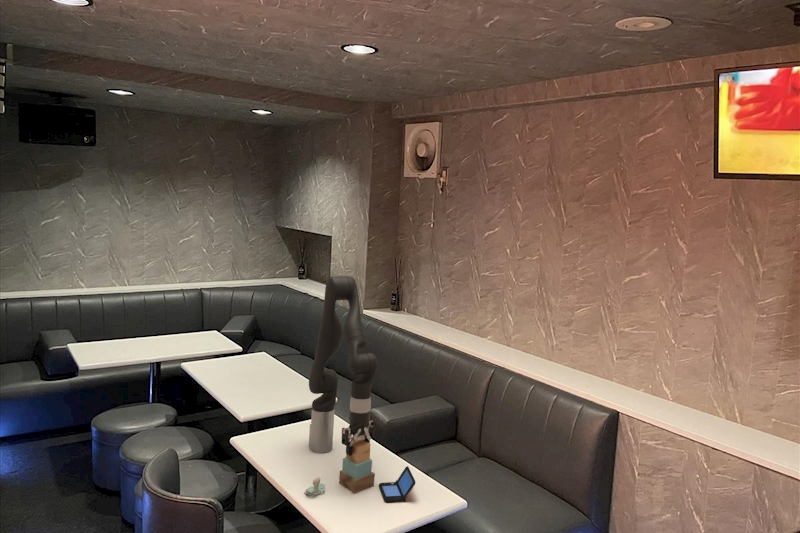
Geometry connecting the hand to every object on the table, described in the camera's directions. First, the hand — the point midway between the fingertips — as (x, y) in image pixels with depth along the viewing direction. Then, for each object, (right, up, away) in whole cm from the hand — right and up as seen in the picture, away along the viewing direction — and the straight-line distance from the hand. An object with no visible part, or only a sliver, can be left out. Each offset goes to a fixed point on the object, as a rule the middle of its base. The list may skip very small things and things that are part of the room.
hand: (357, 452), depth 203 cm
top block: (0, -8, +1) cm, 8 cm away
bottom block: (-1, -12, +1) cm, 13 cm away
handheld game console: (+14, -14, -3) cm, 20 cm away
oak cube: (0, -3, 0) cm, 3 cm away
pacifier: (-15, -13, -6) cm, 20 cm away
